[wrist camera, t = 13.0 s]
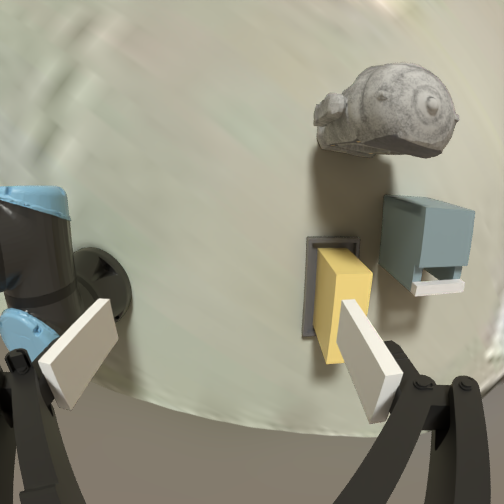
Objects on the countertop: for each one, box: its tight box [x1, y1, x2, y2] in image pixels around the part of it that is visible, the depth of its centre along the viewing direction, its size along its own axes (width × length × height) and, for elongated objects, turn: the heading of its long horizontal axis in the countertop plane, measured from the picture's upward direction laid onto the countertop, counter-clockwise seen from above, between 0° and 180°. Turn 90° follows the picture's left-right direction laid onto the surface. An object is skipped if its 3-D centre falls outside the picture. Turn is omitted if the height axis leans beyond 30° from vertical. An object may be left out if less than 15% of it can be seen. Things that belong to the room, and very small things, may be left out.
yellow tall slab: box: [313, 248, 373, 364], centre depth 44 cm, size 5×14×12 cm, turn 1°
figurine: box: [314, 62, 459, 158], centre depth 31 cm, size 10×14×25 cm
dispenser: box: [378, 195, 475, 296], centre depth 41 cm, size 9×12×14 cm
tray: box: [302, 237, 360, 336], centre depth 50 cm, size 9×18×2 cm, turn 1°
